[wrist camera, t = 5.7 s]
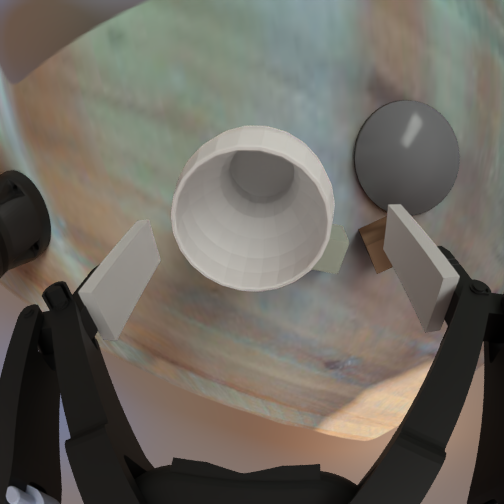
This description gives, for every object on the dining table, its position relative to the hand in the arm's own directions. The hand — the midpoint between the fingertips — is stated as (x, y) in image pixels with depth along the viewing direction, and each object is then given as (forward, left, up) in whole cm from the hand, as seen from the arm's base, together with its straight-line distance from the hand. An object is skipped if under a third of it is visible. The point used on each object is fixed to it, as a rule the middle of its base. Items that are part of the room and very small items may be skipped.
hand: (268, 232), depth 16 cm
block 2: (+12, -9, -16) cm, 22 cm away
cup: (-1, 0, -17) cm, 17 cm away
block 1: (+5, -9, -16) cm, 19 cm away
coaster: (+15, 0, -16) cm, 22 cm away
